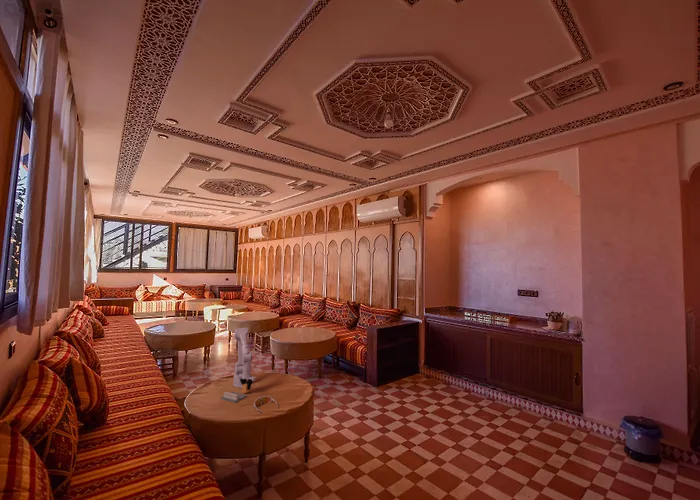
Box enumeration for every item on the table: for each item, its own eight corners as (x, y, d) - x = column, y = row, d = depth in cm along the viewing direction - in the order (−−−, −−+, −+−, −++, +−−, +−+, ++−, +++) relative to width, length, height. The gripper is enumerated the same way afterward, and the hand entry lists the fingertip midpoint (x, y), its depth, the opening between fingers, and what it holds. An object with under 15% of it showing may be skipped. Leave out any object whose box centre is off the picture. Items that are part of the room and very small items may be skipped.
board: (220, 398, 225) (220, 393, 225) (232, 393, 235) (232, 387, 235) (235, 402, 219) (235, 397, 219) (247, 396, 229) (247, 391, 229)
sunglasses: (269, 400, 223) (270, 393, 223) (280, 411, 212) (281, 404, 211) (250, 406, 214) (251, 399, 213) (260, 418, 202) (261, 411, 202)
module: (241, 391, 234) (242, 384, 234) (246, 389, 238) (247, 382, 238) (246, 392, 232) (246, 385, 232) (251, 390, 236) (251, 383, 237)
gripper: (235, 370, 235) (235, 388, 235) (250, 373, 229) (250, 392, 228) (242, 367, 241) (242, 385, 241) (257, 370, 235) (257, 389, 235)
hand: (246, 388), depth 235 cm, fingers closed on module, 4 cm apart
